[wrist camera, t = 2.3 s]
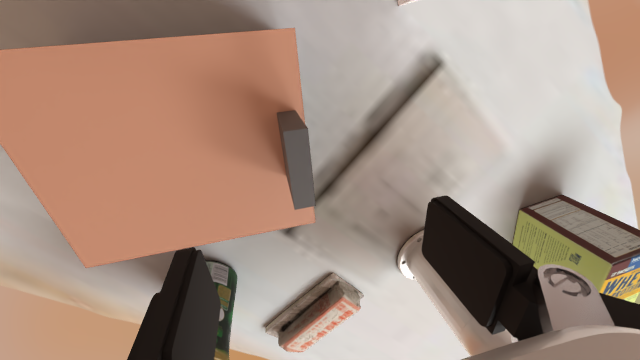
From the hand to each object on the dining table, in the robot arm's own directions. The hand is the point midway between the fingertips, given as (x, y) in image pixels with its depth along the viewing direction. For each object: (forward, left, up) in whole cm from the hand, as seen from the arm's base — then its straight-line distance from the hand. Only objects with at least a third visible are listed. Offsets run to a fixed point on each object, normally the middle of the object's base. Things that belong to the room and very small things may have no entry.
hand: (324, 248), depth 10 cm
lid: (+9, 0, -15) cm, 18 cm away
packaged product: (-1, +39, -26) cm, 47 cm away
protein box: (-51, +31, -26) cm, 65 cm away
